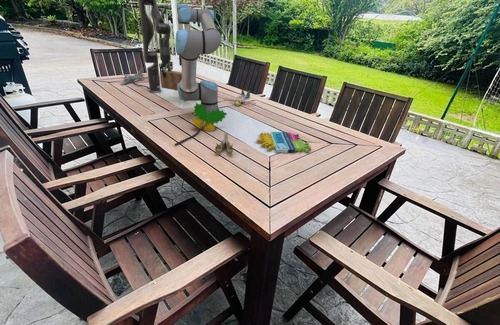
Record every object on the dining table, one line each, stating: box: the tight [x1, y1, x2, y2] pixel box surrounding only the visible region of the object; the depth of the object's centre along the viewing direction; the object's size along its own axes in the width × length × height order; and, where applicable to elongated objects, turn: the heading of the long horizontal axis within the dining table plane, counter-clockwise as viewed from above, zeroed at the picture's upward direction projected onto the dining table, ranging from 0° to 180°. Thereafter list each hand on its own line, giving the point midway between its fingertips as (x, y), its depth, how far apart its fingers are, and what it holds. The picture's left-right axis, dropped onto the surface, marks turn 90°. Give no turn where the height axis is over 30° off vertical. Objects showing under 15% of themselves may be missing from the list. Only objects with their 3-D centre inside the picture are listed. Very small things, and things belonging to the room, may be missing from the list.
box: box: [159, 69, 182, 92], centre depth 201 cm, size 24×6×13 cm, turn 69°
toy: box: [223, 89, 257, 106], centre depth 219 cm, size 28×7×30 cm
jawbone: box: [214, 131, 234, 156], centre depth 136 cm, size 9×15×10 cm
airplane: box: [119, 66, 148, 86], centre depth 257 cm, size 38×31×10 cm
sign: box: [256, 131, 312, 154], centre depth 152 cm, size 26×2×30 cm
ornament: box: [191, 101, 228, 132], centre depth 162 cm, size 21×8×15 cm, turn 105°
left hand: (167, 76), depth 202 cm, fingers closed on box, 6 cm apart
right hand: (186, 64), depth 186 cm, fingers open, 13 cm apart
